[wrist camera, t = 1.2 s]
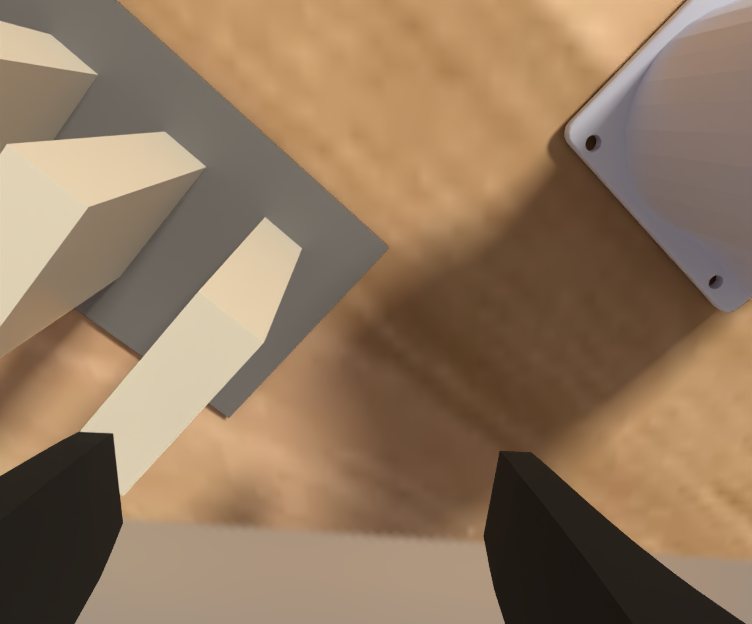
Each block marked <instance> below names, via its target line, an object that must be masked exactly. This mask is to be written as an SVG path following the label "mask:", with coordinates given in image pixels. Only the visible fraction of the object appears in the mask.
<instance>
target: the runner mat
mask: <svg viewBox="0 0 752 624" xmlns="http://www.w3.org/2000/svg"><path fill="white" fill-rule="evenodd" d="M0 21H3V22H6V23H10V24H14V25H17V26H21V27H25V28H29V29H32V30H36V31H40V32H43V33H47V34H51V35H52V36H53V37H54V38H56V39H57V40H58V41H59V42H60V43H62V44H63V45H64V46H65V47H66V48H67V49H69V50H70V51H71V52H72V53H73V54H74V55H76V56H77V57H78V58H79V59H80V60H81V61H83V62H84V63H85V64H86V65H87V66H89V67H90V68H91V69H92V70H93V71H94V72H96V73H97V74H98V76H97V78H96V79H95V80H94V82H93V83H92V85H91V86H90V88H89V89H88V91H87V92H86V94H85V95H84V96H83V98H82V99H81V101H80V102H79V104H78V105H77V107H76V108H75V109H74V111H73V112H72V114H71V115H70V117H69V118H68V120H67V121H66V123H65V124H64V125H63V127H62V128H61V130H60V131H59V133H58V134H57V136H56V137H55V138H54V140H64V139H77V138H90V137H102V136H115V135H128V134H140V133H153V132H166V133H167V134H168V135H169V136H171V137H172V138H173V139H174V140H175V141H177V142H178V143H179V144H180V145H181V146H182V147H184V148H185V149H186V150H187V151H188V152H189V153H191V154H192V155H193V156H194V157H195V158H196V159H198V160H199V161H200V162H201V163H202V164H204V165H205V166H206V168H205V170H204V171H203V172H202V173H201V175H200V176H199V177H198V178H197V180H196V181H195V182H194V183H193V185H192V186H191V187H190V189H189V190H188V191H187V192H186V194H185V195H184V196H183V197H182V199H181V200H180V201H179V202H178V204H177V205H176V206H175V208H174V209H173V210H172V211H171V213H170V214H169V215H168V216H167V218H166V219H165V220H164V221H163V223H162V224H161V225H160V227H159V228H158V229H157V230H156V232H155V233H154V234H153V235H152V237H151V238H150V239H149V240H148V242H147V243H146V244H145V246H144V247H143V248H142V249H141V251H140V252H139V253H138V254H137V256H136V257H135V258H134V259H133V261H132V262H131V263H130V265H129V266H128V267H127V268H126V270H125V271H124V272H123V273H122V275H121V276H120V277H119V278H118V279H116V280H115V281H113V282H112V283H110V284H109V285H107V286H106V287H105V288H103V289H102V290H100V291H99V292H97V293H96V294H94V295H93V296H91V297H90V298H88V299H87V300H85V301H84V302H83V303H81V304H80V305H78V306H77V307H75V309H76V310H77V311H79V312H80V313H82V314H83V315H84V316H86V317H87V318H89V319H90V320H91V321H93V322H94V323H96V324H97V325H98V326H100V327H101V328H103V329H104V330H106V331H107V332H108V333H110V334H111V335H113V336H114V337H115V338H117V339H118V340H120V341H121V342H122V343H124V344H125V345H127V346H128V347H130V348H131V349H132V350H134V351H135V352H137V353H138V354H139V355H141V356H142V357H143V356H144V355H145V354H146V353H147V352H148V350H149V349H150V348H151V347H152V346H153V344H154V343H155V342H156V341H157V340H158V339H159V337H160V336H161V335H162V334H163V333H164V331H165V330H166V329H167V328H168V327H169V326H170V324H171V323H172V322H173V321H174V320H175V319H176V317H177V316H178V315H179V314H180V313H181V311H182V310H183V309H184V308H185V307H186V306H187V304H188V303H189V302H190V301H191V300H192V298H193V297H194V296H195V295H196V294H197V293H198V291H199V290H200V289H201V288H202V287H203V286H204V285H205V284H206V282H207V281H208V280H209V279H210V278H211V277H212V276H213V275H214V274H215V272H216V271H217V270H218V269H219V268H220V267H221V266H222V265H223V264H224V262H225V261H226V260H227V259H228V258H229V257H230V256H231V255H232V253H233V252H234V251H235V250H236V249H237V248H238V247H239V246H240V245H241V243H242V242H243V241H244V240H245V239H246V238H247V237H248V236H249V235H250V233H251V232H252V231H253V230H254V229H255V228H256V227H257V226H258V225H259V223H260V222H261V221H262V220H263V219H264V218H265V217H266V218H267V219H268V220H269V221H270V222H272V223H273V224H274V225H275V226H276V227H277V228H279V229H280V230H281V231H282V232H283V233H285V234H286V235H287V236H288V237H289V238H290V239H292V240H293V241H294V242H295V243H296V244H297V245H299V246H300V247H301V248H302V250H301V252H300V255H299V257H298V260H297V262H296V265H295V267H294V270H293V272H292V275H291V277H290V280H289V282H288V284H287V287H286V289H285V292H284V294H283V297H282V299H281V302H280V304H279V307H278V309H277V312H276V314H275V317H274V319H273V322H272V324H271V326H270V329H269V331H268V334H267V336H266V339H265V341H264V343H263V344H262V345H261V346H260V347H259V349H258V350H257V351H256V352H255V353H254V354H253V355H252V356H251V357H250V358H249V359H248V361H247V362H246V363H245V364H244V365H243V366H242V367H241V368H240V369H239V370H238V371H237V373H236V374H235V375H234V376H233V377H232V378H231V379H230V380H229V381H228V382H227V383H226V384H225V386H224V387H223V388H222V389H221V390H220V391H219V392H218V393H217V394H216V395H215V396H214V398H213V399H212V400H211V401H210V402H209V404H210V405H211V406H213V407H214V408H216V409H217V410H218V411H220V412H221V413H223V414H224V415H225V416H227V417H228V418H229V417H230V416H231V415H232V414H233V413H234V412H235V411H236V410H237V409H238V408H239V407H240V406H241V405H242V404H243V403H244V402H245V400H246V399H247V398H248V397H249V396H250V395H251V394H252V393H253V392H254V391H255V390H256V389H257V388H258V387H259V386H260V385H261V383H262V382H263V381H264V380H265V379H266V378H267V377H268V376H269V375H270V374H271V373H272V372H273V371H274V370H275V369H276V367H277V366H278V365H279V364H280V363H281V362H282V361H283V360H284V359H285V358H286V357H287V356H288V355H289V354H290V353H291V352H292V350H293V349H294V348H295V347H296V346H297V345H298V344H299V343H300V342H301V341H302V340H303V339H304V338H305V337H306V336H307V335H308V333H309V332H310V331H311V330H312V329H313V328H314V327H315V326H316V325H317V324H318V323H319V322H320V321H321V320H322V319H323V318H324V316H325V315H326V314H327V313H328V312H329V311H330V310H331V309H332V308H333V307H334V306H335V305H336V304H337V303H338V302H339V301H340V299H341V298H342V297H343V296H344V295H345V294H346V293H347V292H348V291H349V290H350V289H351V288H352V287H353V286H354V285H355V284H356V282H357V281H358V280H359V279H360V278H361V277H362V276H363V275H364V274H365V273H366V272H367V271H368V270H369V269H370V268H371V267H372V265H373V264H374V263H375V262H376V261H377V260H378V259H379V258H380V257H381V256H382V255H383V254H384V253H385V252H386V251H387V249H388V245H387V244H386V243H384V242H383V241H382V240H381V239H380V238H379V237H378V236H377V235H376V234H375V233H373V232H372V231H371V230H370V229H369V228H368V227H367V226H366V225H365V224H363V223H362V222H361V221H360V220H359V219H358V218H357V217H356V216H355V215H354V214H352V213H351V212H350V211H349V210H348V209H347V208H346V207H345V206H344V205H342V204H341V203H340V202H339V201H338V200H337V199H336V198H335V197H334V196H332V195H331V194H330V193H329V192H328V191H327V190H326V189H325V188H324V187H323V186H321V185H320V184H319V183H318V182H317V181H316V180H315V179H314V178H313V177H311V176H310V175H309V174H308V173H307V172H306V171H305V170H304V169H303V168H302V167H300V166H299V165H298V164H297V163H296V162H295V161H294V160H293V159H292V158H290V157H289V156H288V155H287V154H286V153H285V152H284V151H283V150H282V149H281V148H279V147H278V146H277V145H276V144H275V143H274V142H273V141H272V140H271V139H269V138H268V137H267V136H266V135H265V134H264V133H263V132H262V131H261V130H259V129H258V128H257V127H256V126H255V125H254V124H253V123H252V122H251V121H250V120H248V119H247V118H246V117H245V116H244V115H243V114H242V113H241V112H240V111H238V110H237V109H236V108H235V107H234V106H233V105H232V104H231V103H230V102H229V101H227V100H226V99H225V98H224V97H223V96H222V95H221V94H220V93H219V92H217V91H216V90H215V89H214V88H213V87H212V86H211V85H210V84H209V83H208V82H206V81H205V80H204V79H203V78H202V77H201V76H200V75H199V74H198V73H196V72H195V71H194V70H193V69H192V68H191V67H190V66H189V65H188V64H186V63H185V62H184V61H183V60H182V59H181V58H180V57H179V56H178V55H177V54H175V53H174V52H173V51H172V50H171V49H170V48H169V47H168V46H167V45H165V44H164V43H163V42H162V41H161V40H160V39H159V38H158V37H157V36H156V35H154V34H153V33H152V32H151V31H150V30H149V29H148V28H147V27H146V26H144V25H143V24H142V23H141V22H140V21H139V20H138V19H137V18H136V17H135V16H133V15H132V14H131V13H130V12H129V11H128V10H127V9H126V8H125V7H123V6H122V5H121V4H120V3H119V2H118V1H117V0H0Z"/></svg>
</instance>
